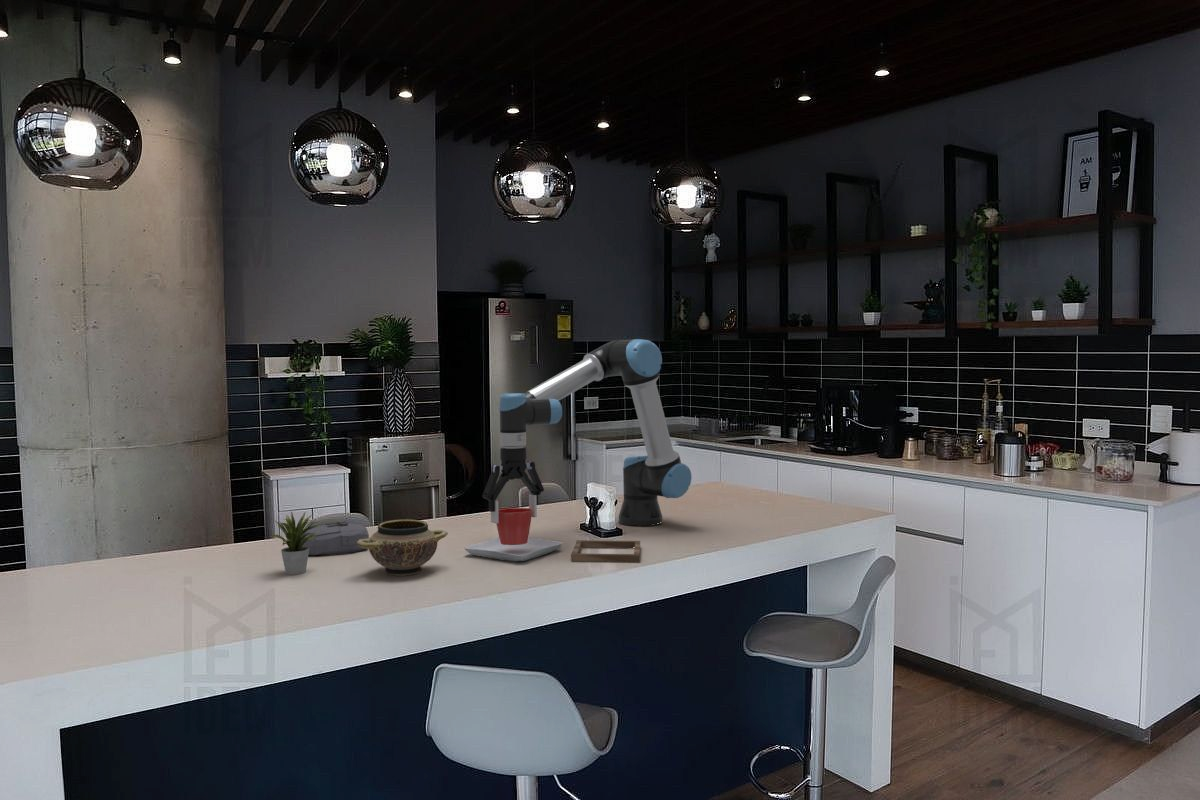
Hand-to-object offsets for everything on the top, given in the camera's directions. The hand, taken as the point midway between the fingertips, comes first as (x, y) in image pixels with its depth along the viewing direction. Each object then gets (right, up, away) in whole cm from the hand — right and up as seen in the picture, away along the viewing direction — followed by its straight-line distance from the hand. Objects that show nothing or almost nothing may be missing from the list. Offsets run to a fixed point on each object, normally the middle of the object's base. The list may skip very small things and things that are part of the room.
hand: (514, 519), depth 252 cm
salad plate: (0, -11, 0) cm, 11 cm away
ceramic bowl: (-27, -11, -21) cm, 36 cm away
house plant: (-56, -11, -22) cm, 61 cm away
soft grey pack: (-54, -10, +5) cm, 55 cm away
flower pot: (0, -7, 0) cm, 7 cm away
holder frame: (+27, -10, -1) cm, 29 cm away
